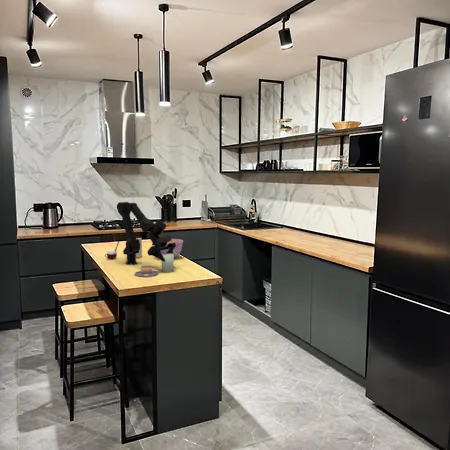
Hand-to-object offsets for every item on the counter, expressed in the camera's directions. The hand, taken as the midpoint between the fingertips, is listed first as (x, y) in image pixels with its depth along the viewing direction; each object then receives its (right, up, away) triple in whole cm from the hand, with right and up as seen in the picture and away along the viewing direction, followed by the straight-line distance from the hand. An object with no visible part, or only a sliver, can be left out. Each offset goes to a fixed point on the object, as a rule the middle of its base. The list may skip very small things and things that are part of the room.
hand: (169, 260), depth 243 cm
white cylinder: (-1, -6, +2) cm, 7 cm away
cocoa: (-42, -2, +35) cm, 55 cm away
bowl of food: (-6, -2, +40) cm, 40 cm away
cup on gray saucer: (-12, -7, -6) cm, 15 cm away
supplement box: (-28, -2, +40) cm, 49 cm away
